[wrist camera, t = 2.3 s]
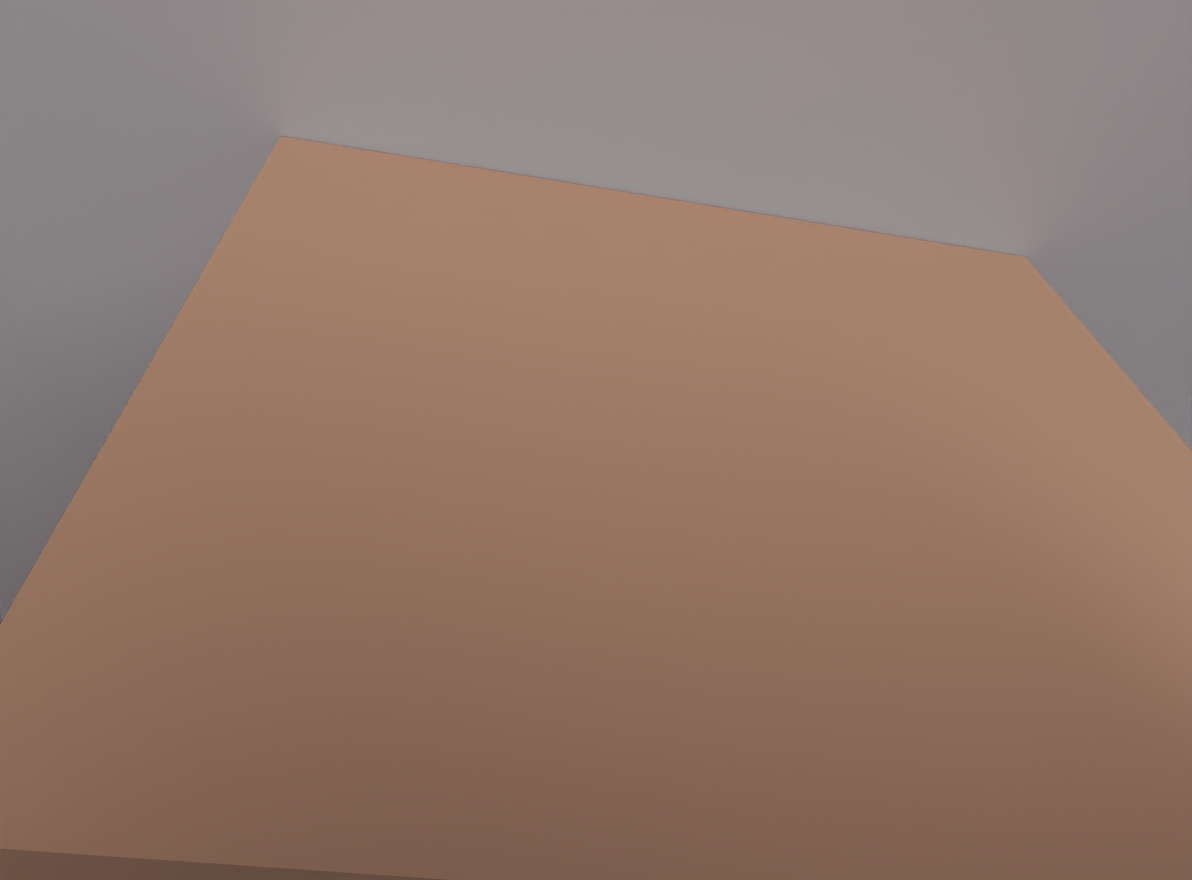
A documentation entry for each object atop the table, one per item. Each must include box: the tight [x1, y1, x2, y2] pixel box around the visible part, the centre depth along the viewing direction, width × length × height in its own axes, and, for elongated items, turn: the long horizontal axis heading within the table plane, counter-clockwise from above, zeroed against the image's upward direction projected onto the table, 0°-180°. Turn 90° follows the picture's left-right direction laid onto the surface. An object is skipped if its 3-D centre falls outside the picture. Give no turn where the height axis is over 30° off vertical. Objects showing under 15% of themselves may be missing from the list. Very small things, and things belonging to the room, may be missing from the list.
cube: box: [0, 136, 1192, 880], centre depth 6 cm, size 5×5×5 cm
